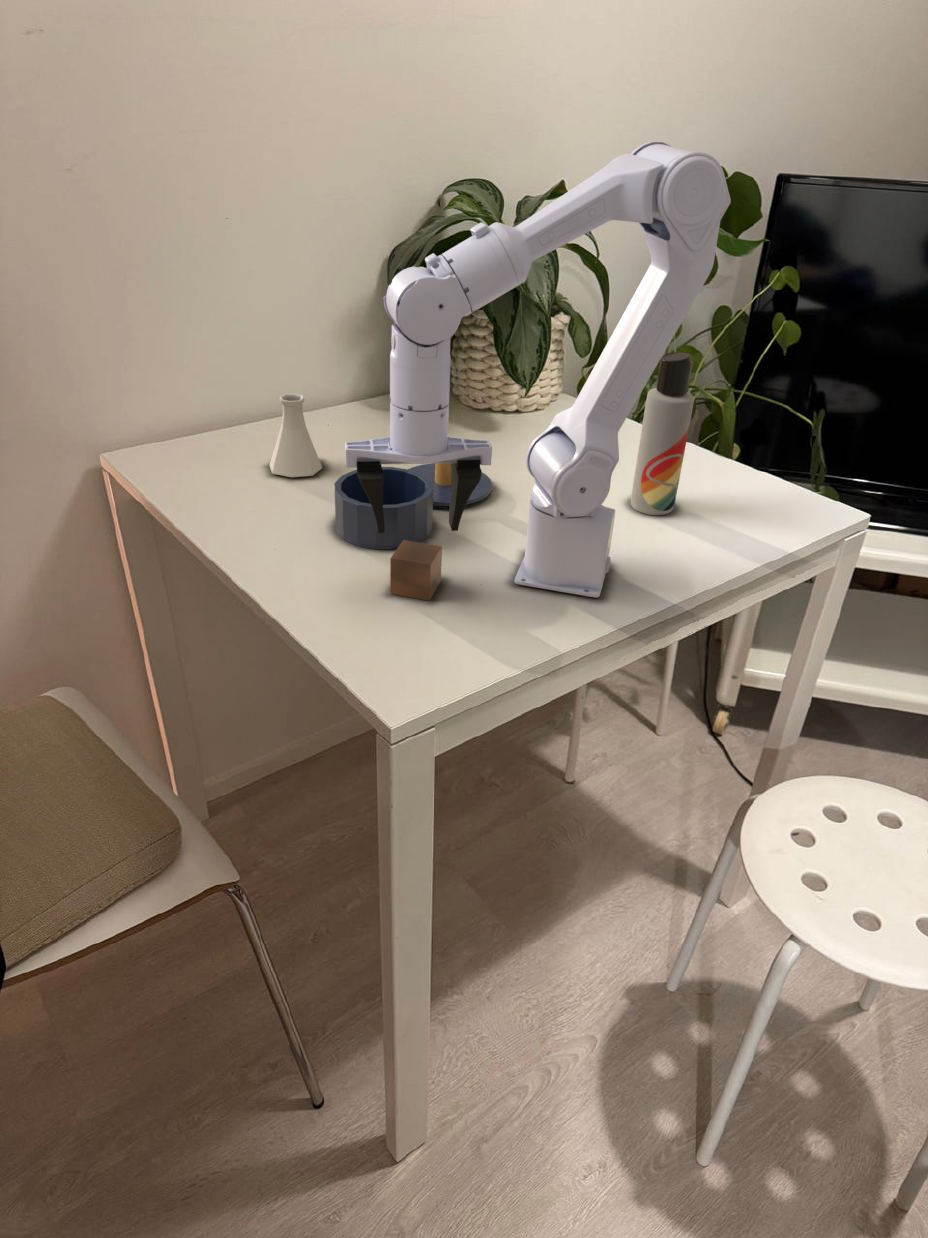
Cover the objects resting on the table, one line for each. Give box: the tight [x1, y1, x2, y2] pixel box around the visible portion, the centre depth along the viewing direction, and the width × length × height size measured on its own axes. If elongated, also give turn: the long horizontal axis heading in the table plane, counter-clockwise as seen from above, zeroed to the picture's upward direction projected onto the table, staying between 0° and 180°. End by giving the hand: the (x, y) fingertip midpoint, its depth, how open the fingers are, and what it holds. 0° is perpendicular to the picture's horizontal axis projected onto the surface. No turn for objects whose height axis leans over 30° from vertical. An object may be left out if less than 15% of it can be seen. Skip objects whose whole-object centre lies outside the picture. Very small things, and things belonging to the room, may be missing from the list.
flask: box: [269, 393, 323, 478], centre depth 121 cm, size 7×7×10 cm
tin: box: [333, 466, 434, 550], centre depth 109 cm, size 12×12×5 cm
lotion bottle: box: [630, 352, 695, 516], centre depth 113 cm, size 6×6×20 cm
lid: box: [407, 463, 493, 507], centre depth 119 cm, size 13×13×5 cm
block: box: [389, 540, 443, 602], centre depth 97 cm, size 4×4×4 cm
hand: (417, 527), depth 95 cm, fingers open, 7 cm apart
